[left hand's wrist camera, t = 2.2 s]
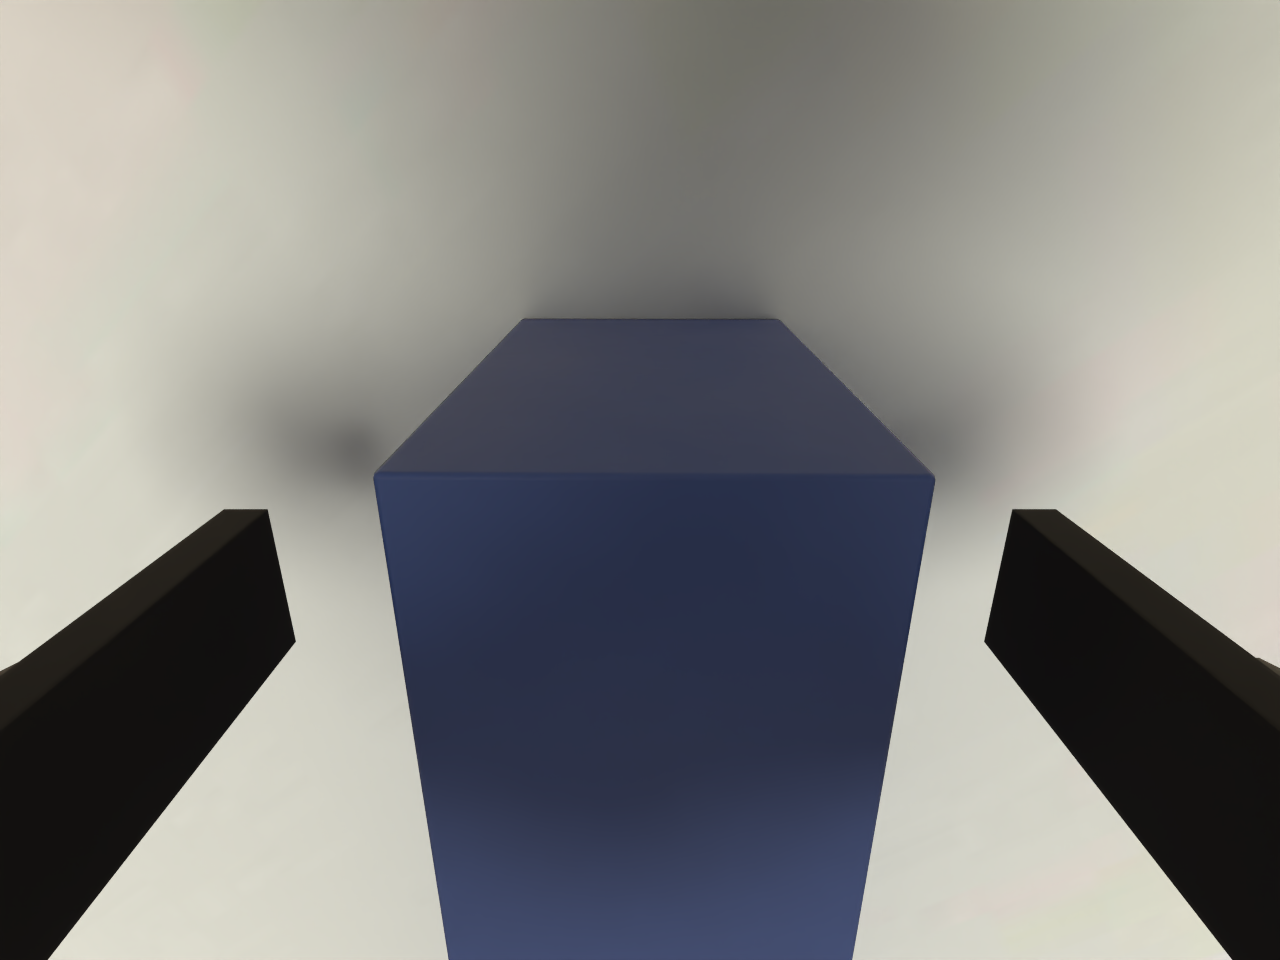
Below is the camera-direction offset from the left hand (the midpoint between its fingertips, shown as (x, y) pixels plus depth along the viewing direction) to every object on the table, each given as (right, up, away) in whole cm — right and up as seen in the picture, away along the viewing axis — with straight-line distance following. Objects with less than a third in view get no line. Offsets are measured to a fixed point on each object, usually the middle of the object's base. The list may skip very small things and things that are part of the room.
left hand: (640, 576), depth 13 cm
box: (0, -7, +9) cm, 12 cm away
